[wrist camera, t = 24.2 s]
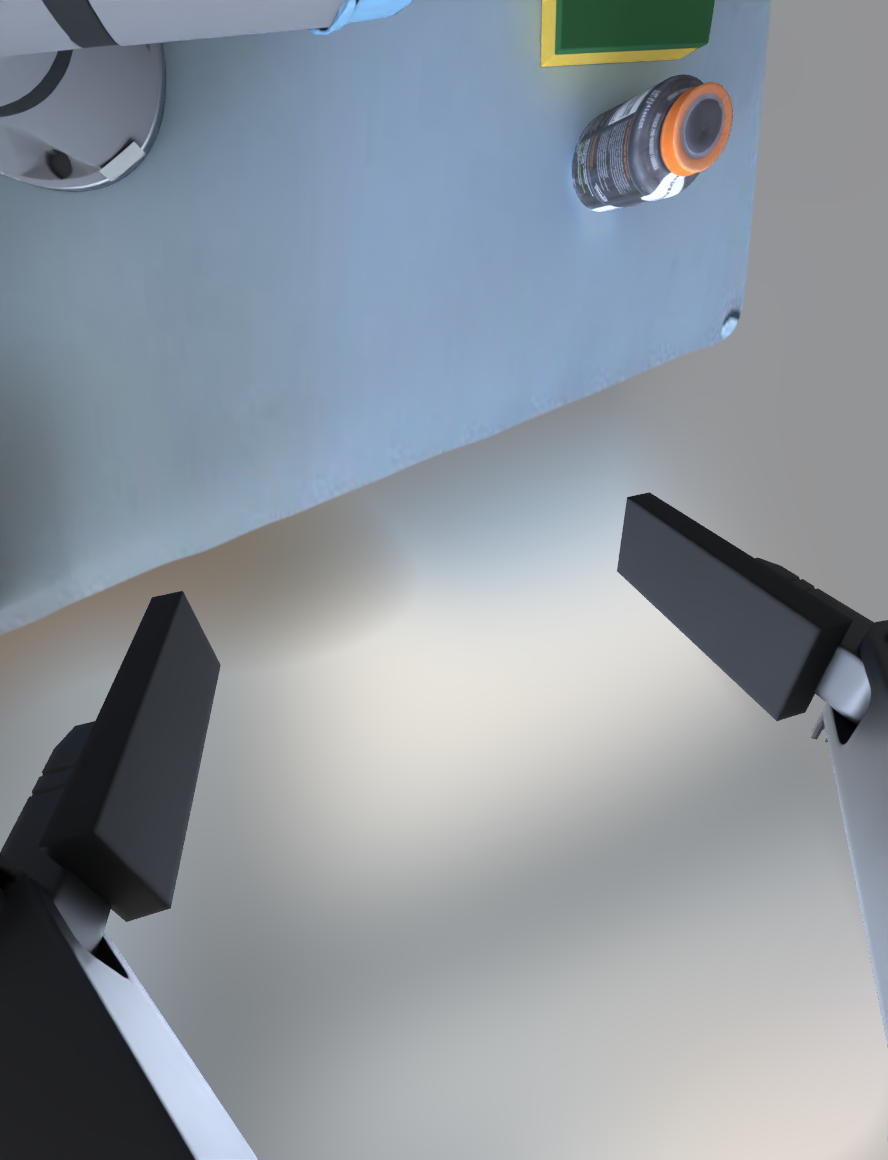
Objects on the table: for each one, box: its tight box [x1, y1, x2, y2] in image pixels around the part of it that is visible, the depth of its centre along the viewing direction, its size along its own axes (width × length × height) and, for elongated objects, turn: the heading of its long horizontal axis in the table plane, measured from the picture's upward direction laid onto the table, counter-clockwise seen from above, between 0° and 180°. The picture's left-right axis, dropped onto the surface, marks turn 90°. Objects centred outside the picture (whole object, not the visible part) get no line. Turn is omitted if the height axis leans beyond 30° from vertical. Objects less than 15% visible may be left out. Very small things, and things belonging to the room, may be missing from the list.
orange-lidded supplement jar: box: [572, 75, 733, 212], centre depth 32 cm, size 6×6×11 cm
